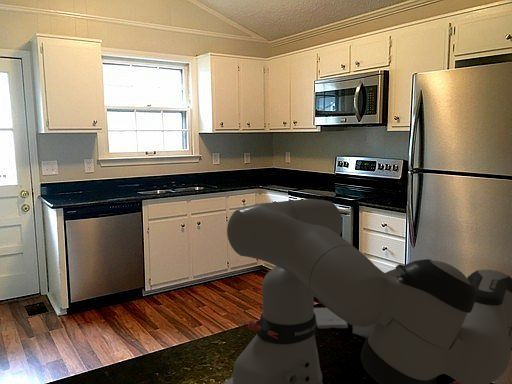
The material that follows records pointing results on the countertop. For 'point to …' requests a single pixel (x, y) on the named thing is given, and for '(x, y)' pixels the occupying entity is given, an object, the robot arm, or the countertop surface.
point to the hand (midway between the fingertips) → (413, 303)
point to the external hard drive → (328, 319)
